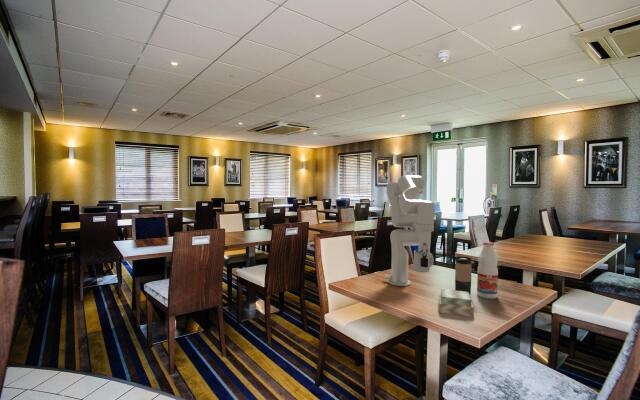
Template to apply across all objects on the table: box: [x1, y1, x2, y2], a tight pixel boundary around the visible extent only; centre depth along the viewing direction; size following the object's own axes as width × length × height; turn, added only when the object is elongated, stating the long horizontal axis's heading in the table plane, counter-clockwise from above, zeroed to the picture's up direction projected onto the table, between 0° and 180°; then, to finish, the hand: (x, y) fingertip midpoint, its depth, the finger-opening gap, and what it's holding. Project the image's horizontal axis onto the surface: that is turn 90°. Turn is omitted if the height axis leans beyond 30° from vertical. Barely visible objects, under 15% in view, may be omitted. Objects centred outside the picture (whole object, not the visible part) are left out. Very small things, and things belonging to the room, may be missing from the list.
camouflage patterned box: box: [438, 288, 475, 318], centre depth 150 cm, size 14×14×7 cm
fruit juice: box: [476, 241, 499, 300], centre depth 169 cm, size 9×9×28 cm
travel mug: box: [454, 256, 473, 296], centre depth 168 cm, size 8×8×20 cm
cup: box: [413, 249, 435, 273], centre depth 154 cm, size 7×10×9 cm
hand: (424, 264), depth 153 cm, fingers closed on cup, 7 cm apart
